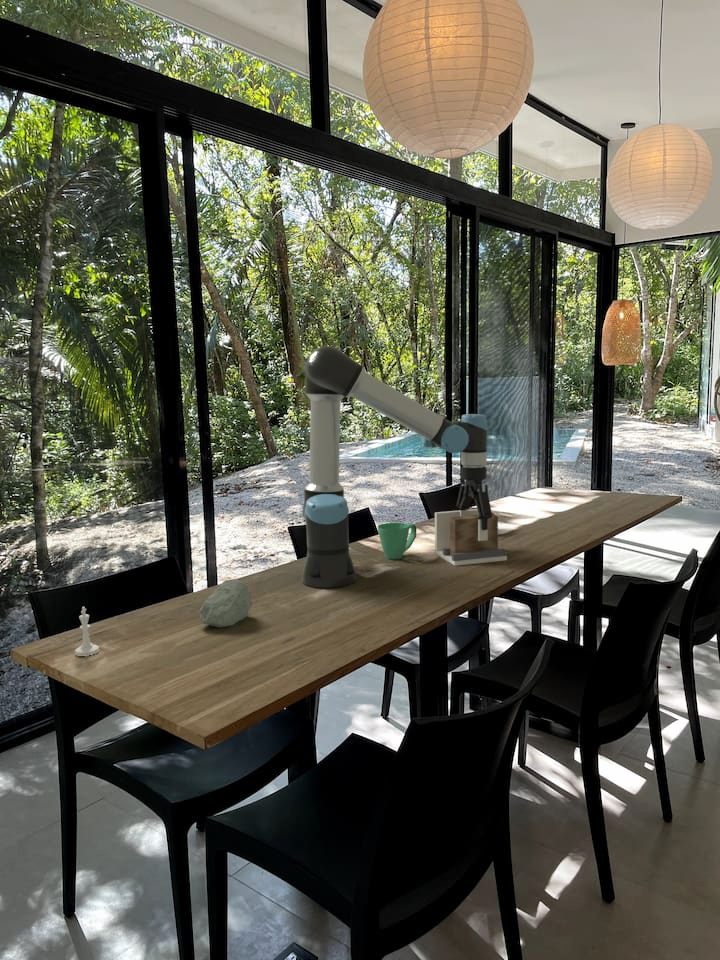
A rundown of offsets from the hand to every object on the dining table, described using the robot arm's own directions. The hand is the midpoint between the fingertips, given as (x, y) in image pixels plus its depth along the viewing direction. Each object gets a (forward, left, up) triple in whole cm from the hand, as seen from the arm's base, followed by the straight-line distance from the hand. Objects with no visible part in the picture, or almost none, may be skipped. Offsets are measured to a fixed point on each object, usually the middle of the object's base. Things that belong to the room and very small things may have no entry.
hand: (473, 535), depth 217 cm
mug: (-20, +12, -8) cm, 24 cm away
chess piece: (-108, -39, -8) cm, 115 cm away
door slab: (0, 0, -6) cm, 6 cm away
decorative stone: (-78, -30, -8) cm, 84 cm away
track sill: (0, +3, -7) cm, 8 cm away
